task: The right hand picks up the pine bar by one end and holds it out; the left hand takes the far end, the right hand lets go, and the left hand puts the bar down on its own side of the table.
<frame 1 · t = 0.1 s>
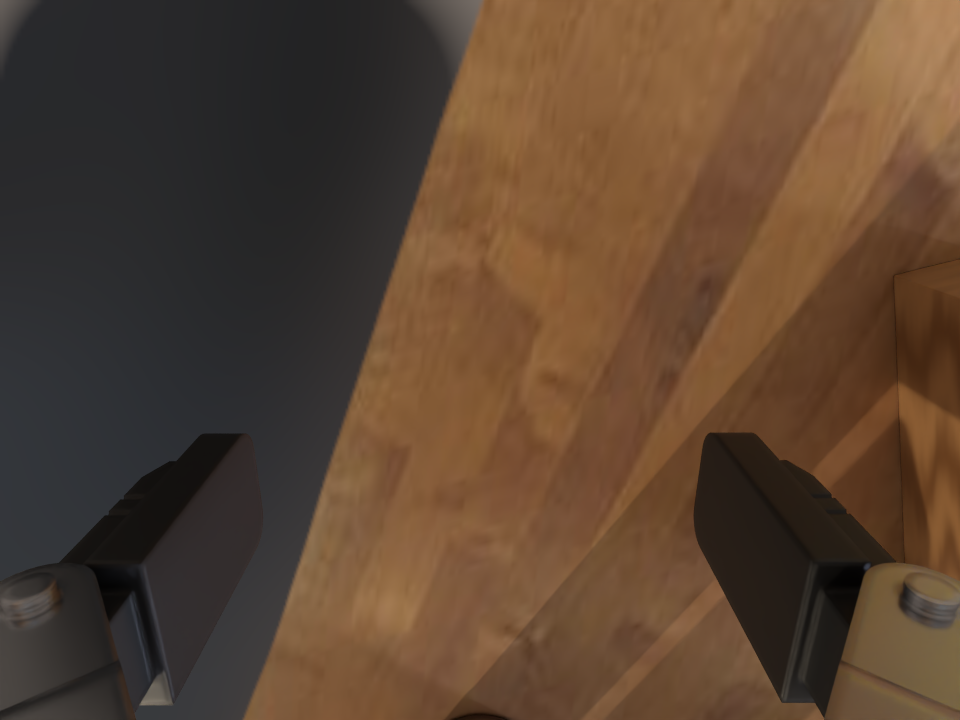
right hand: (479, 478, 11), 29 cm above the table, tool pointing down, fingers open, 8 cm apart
bar: (941, 430, 43), on the table
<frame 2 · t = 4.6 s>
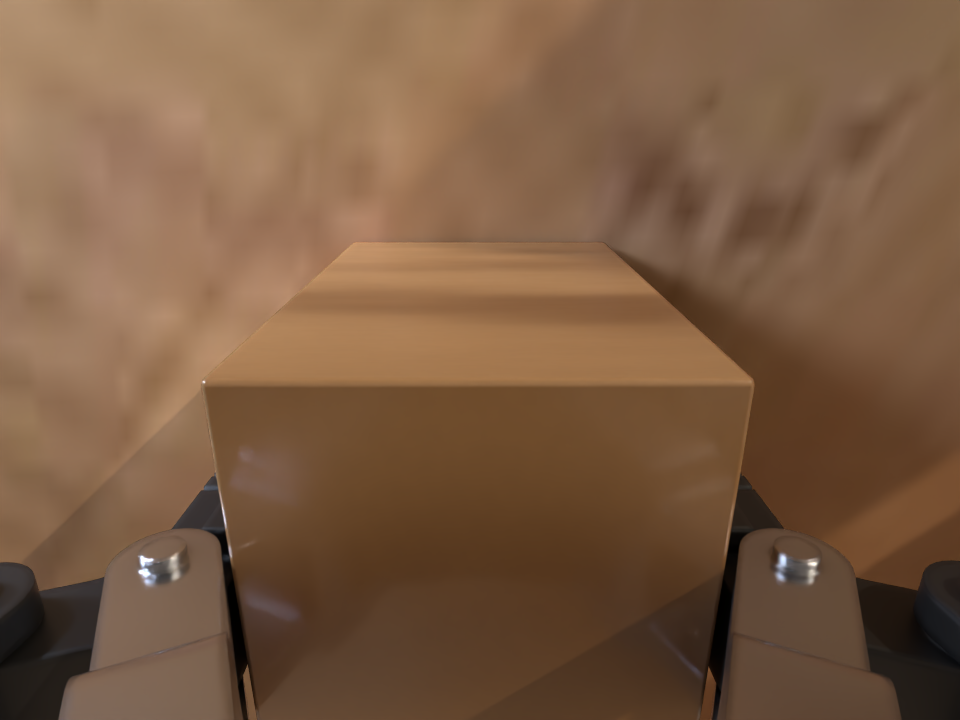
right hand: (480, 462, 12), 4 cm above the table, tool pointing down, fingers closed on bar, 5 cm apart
bar: (479, 656, 18), on the table, touching right hand
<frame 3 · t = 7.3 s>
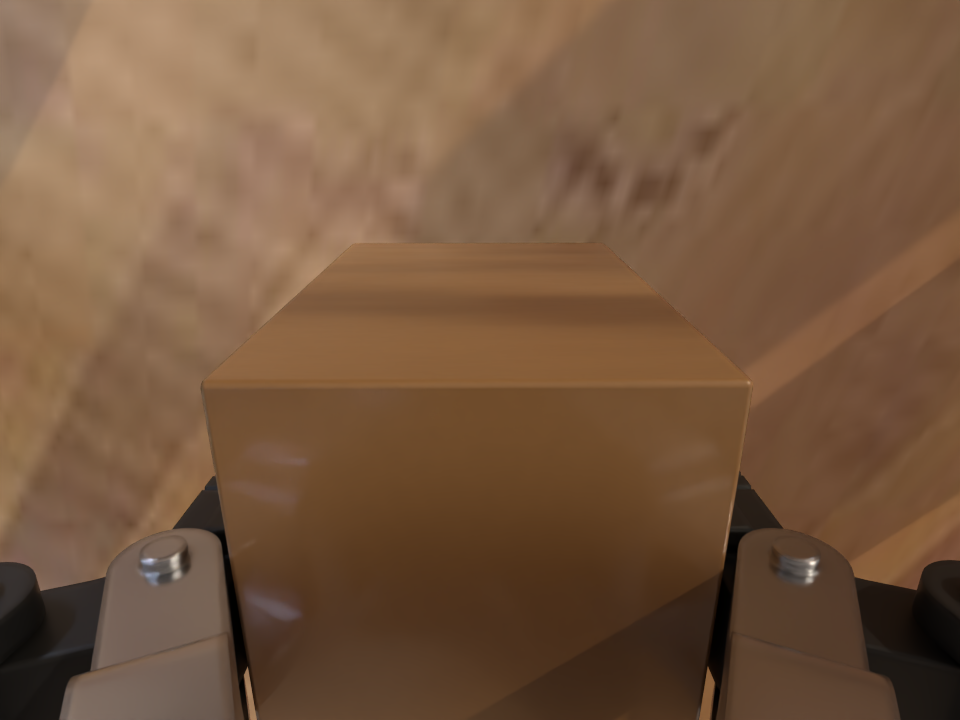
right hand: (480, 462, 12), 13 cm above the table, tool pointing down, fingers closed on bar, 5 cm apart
bar: (479, 657, 18), point 10 cm above the table, touching right hand
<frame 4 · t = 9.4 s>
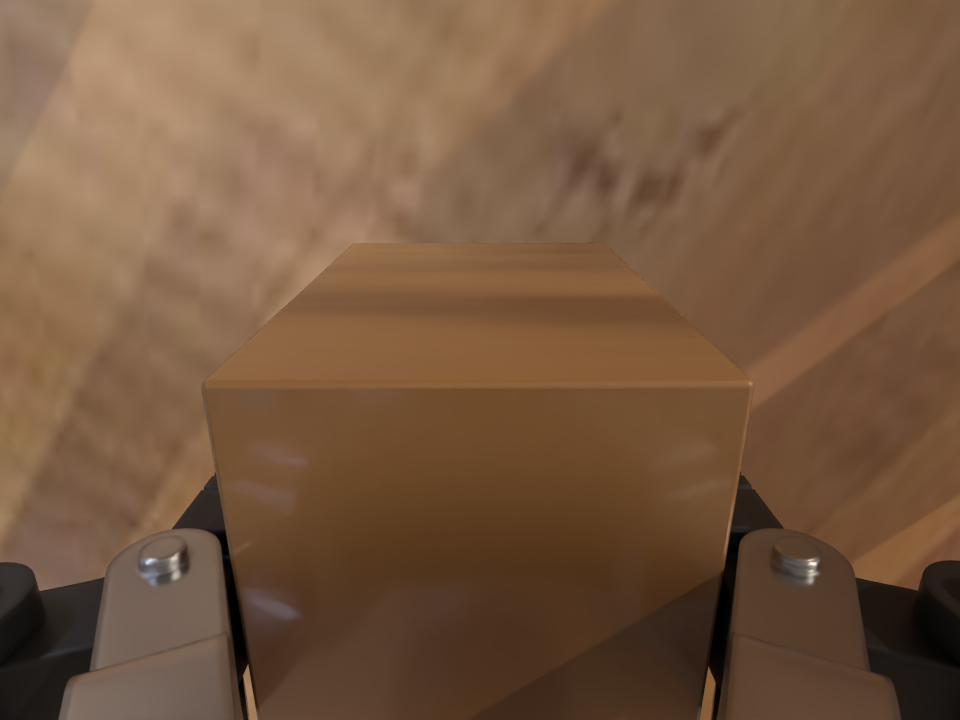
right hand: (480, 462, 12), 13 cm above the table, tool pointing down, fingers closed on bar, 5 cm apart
bar: (479, 656, 18), point 10 cm above the table, touching right hand, left hand
when the right hand's fingers open (13 cm above the table, at t = 10.2 s): bar stays where it is, held by the left hand.
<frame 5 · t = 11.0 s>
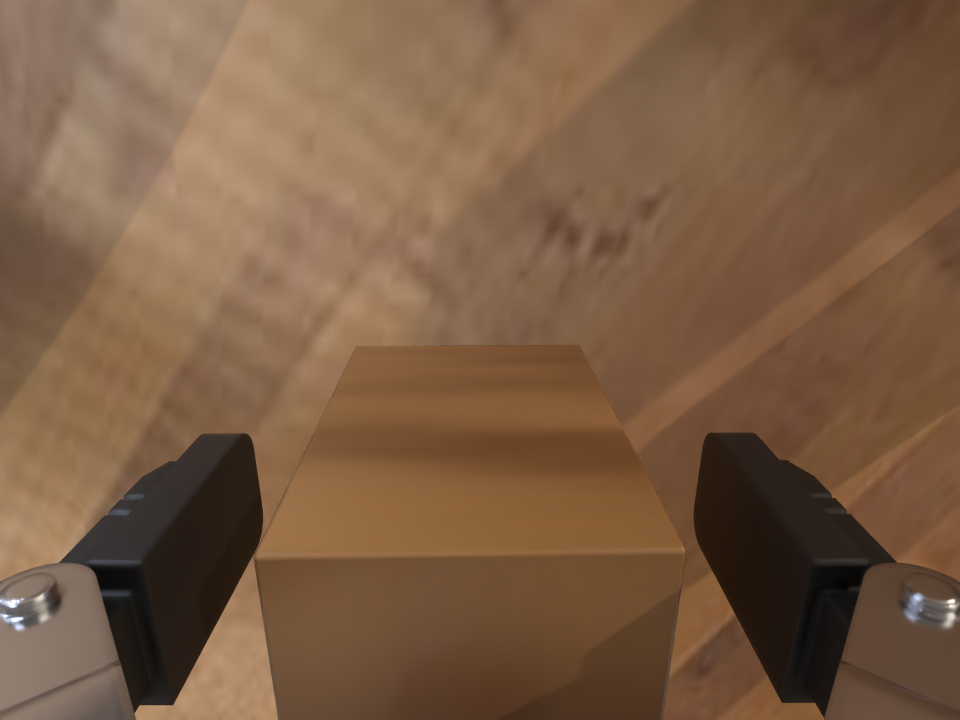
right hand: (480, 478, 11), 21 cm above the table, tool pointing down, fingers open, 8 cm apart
bar: (469, 699, 20), point 15 cm above the table, touching left hand
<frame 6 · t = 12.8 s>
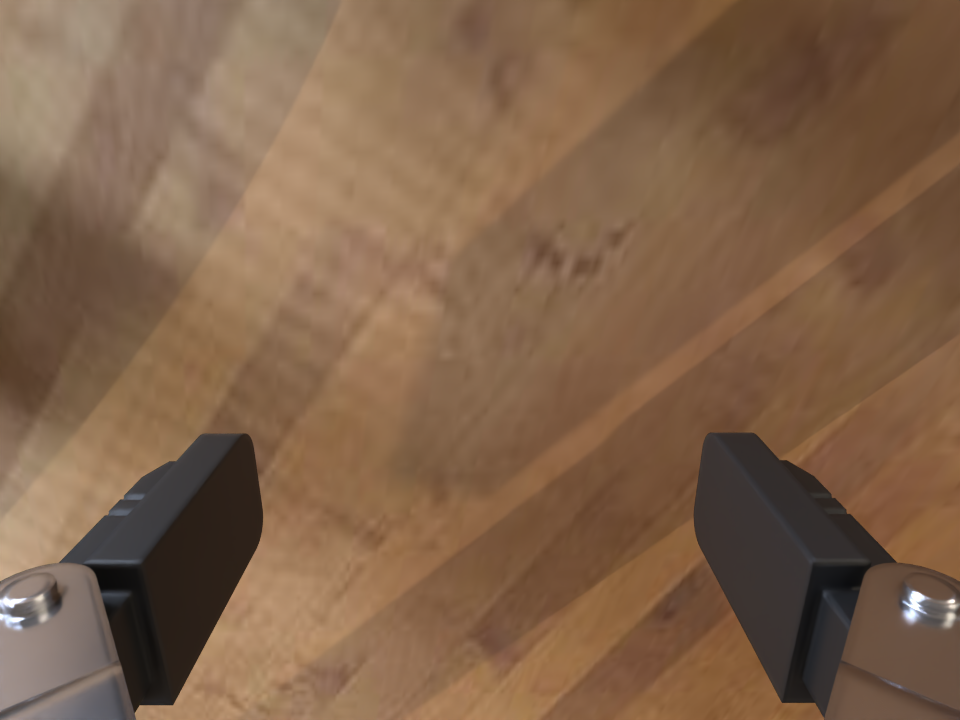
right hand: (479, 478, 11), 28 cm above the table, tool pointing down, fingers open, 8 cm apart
when the left hand's fingers open (2 cm above the table, at t = 16.7 s): bar drops 1 cm, on the table.
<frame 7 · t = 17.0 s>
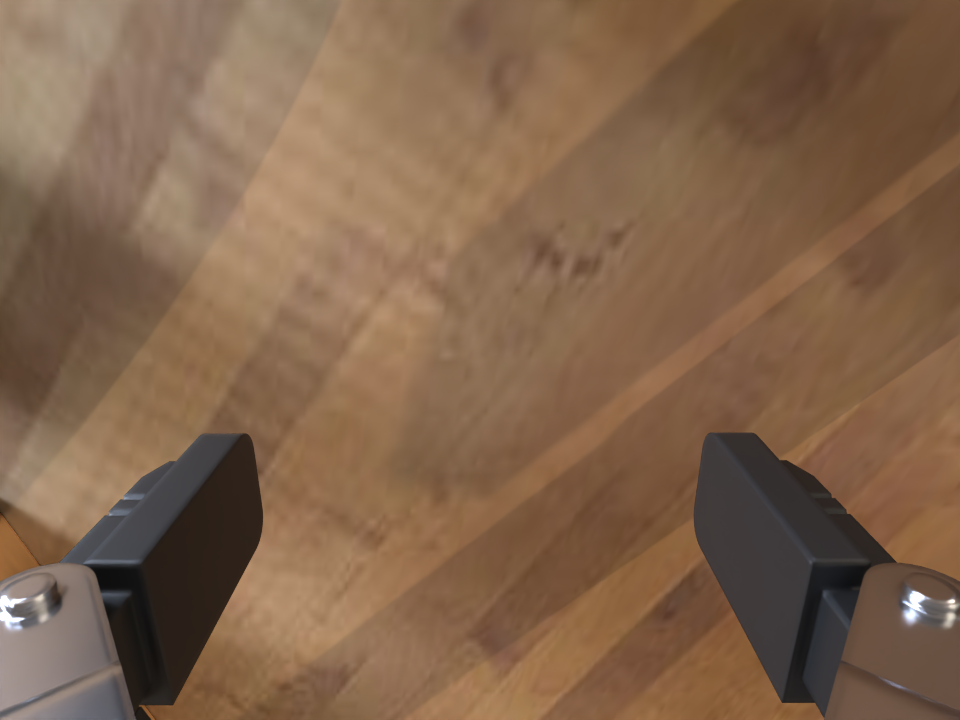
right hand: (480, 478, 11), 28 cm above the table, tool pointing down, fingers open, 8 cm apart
bar: (47, 627, 48), on the table
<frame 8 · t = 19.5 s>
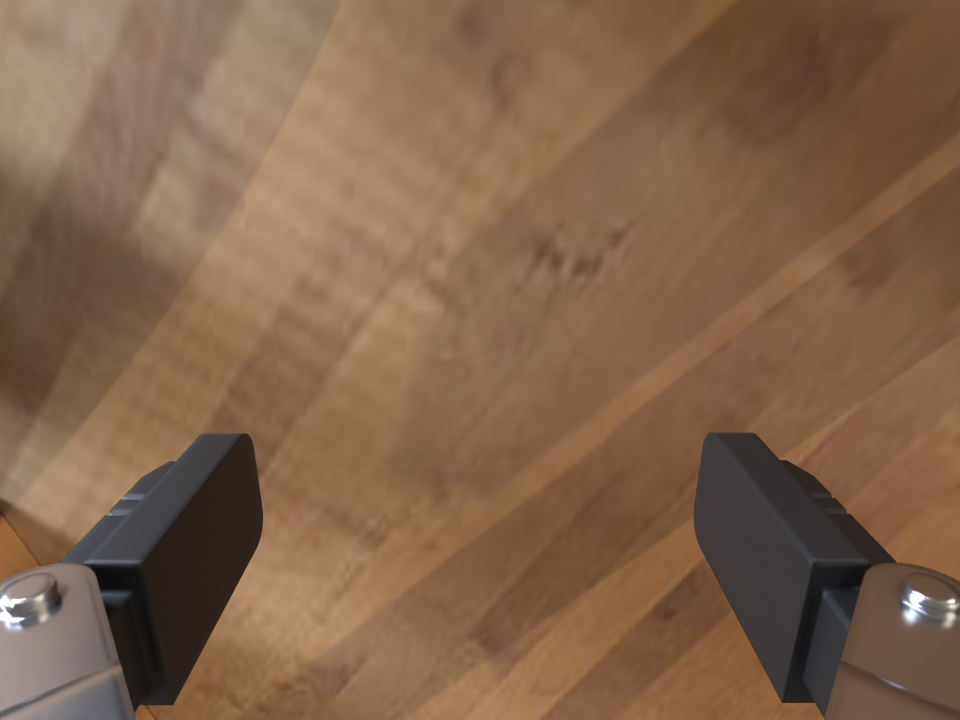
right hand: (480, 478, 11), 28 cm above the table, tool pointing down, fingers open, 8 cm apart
bar: (47, 627, 48), on the table
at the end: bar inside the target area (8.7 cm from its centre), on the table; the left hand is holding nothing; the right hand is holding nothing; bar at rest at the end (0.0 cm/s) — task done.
